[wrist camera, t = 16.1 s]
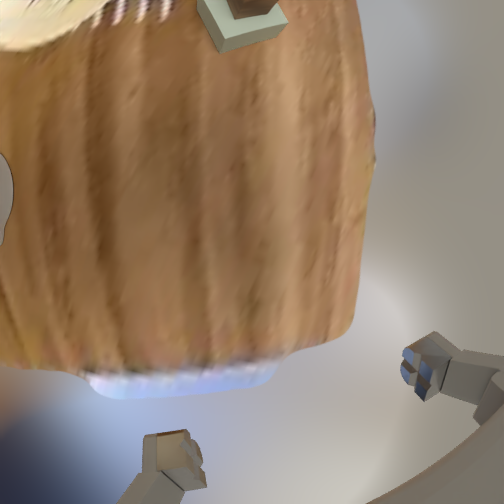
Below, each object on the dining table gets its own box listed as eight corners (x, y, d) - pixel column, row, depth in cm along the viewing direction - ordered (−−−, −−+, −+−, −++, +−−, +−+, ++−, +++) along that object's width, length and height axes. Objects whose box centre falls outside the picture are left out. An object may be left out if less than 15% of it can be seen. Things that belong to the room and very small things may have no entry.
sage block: (219, 54, 33) (225, 38, 28) (196, 10, 30) (198, -10, 24) (275, 37, 34) (288, 22, 28) (251, -5, 31) (260, -24, 25)
